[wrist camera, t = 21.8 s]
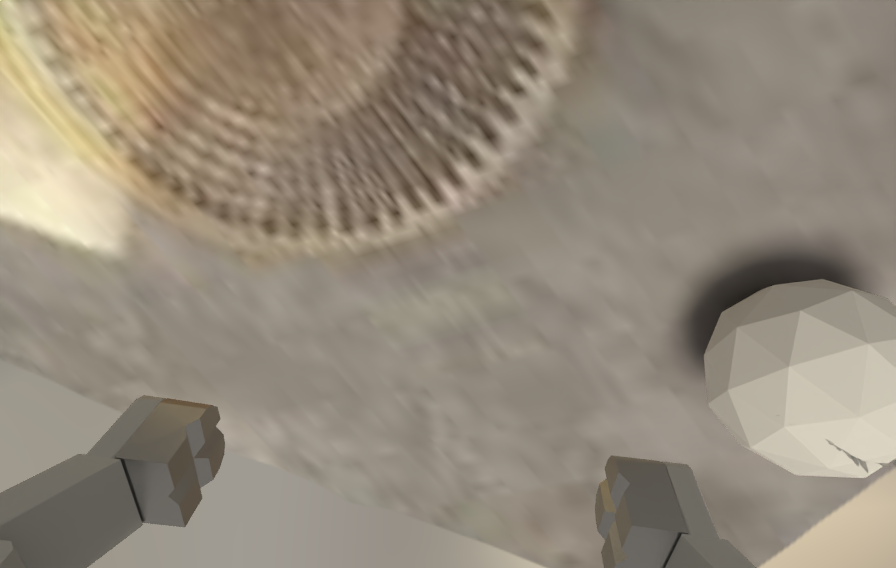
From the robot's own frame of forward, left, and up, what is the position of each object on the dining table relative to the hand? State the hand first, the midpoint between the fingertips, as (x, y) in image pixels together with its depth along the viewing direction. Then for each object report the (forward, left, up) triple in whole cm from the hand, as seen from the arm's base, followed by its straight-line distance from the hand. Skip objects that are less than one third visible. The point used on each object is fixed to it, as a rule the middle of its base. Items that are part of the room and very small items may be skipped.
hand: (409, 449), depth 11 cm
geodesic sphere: (+25, -13, -29) cm, 41 cm away
